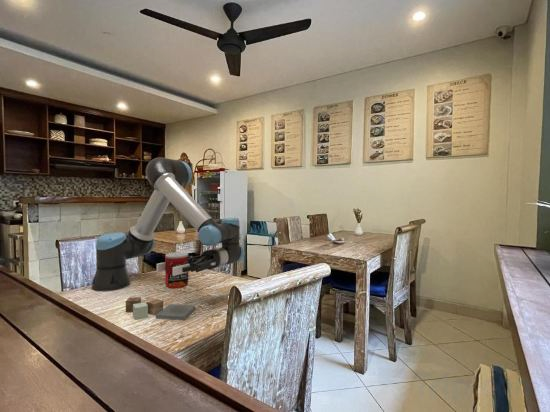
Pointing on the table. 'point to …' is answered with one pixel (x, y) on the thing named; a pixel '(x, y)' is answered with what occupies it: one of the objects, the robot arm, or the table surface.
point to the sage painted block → (140, 310)
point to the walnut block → (132, 301)
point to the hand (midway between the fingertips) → (165, 269)
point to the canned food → (170, 262)
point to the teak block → (154, 306)
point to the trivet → (175, 312)
